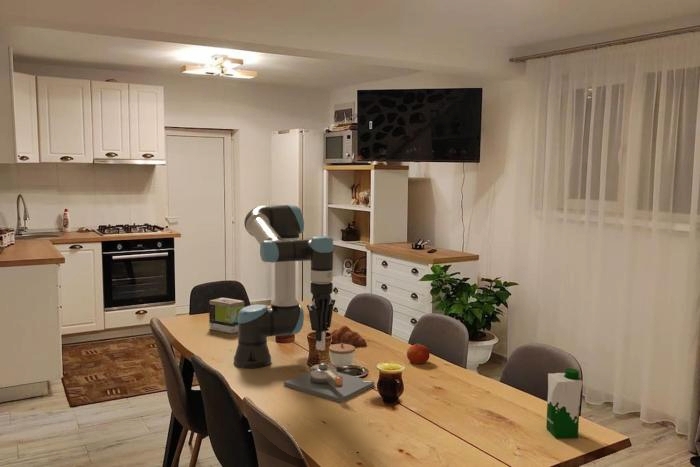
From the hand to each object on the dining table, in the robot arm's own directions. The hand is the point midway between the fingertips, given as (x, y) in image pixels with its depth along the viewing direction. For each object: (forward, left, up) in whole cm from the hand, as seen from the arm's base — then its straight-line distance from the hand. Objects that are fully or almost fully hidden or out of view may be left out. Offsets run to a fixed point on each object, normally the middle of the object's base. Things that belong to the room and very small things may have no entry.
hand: (320, 349), depth 205 cm
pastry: (-35, +61, -19) cm, 73 cm away
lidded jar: (-16, +34, -18) cm, 42 cm away
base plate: (-6, +13, -18) cm, 23 cm away
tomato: (+6, +58, -18) cm, 61 cm away
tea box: (-93, +42, -18) cm, 104 cm away
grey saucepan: (-4, +10, -16) cm, 20 cm away
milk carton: (+75, +26, -18) cm, 81 cm away
